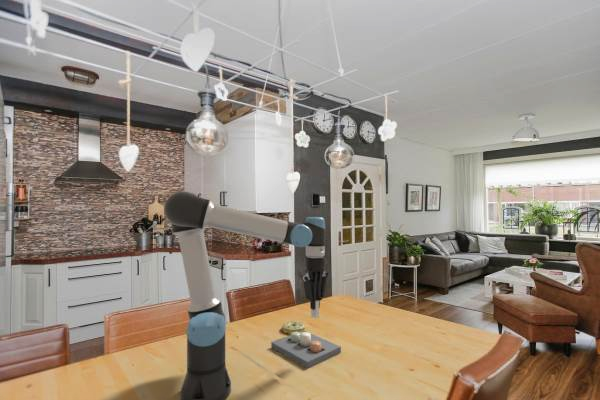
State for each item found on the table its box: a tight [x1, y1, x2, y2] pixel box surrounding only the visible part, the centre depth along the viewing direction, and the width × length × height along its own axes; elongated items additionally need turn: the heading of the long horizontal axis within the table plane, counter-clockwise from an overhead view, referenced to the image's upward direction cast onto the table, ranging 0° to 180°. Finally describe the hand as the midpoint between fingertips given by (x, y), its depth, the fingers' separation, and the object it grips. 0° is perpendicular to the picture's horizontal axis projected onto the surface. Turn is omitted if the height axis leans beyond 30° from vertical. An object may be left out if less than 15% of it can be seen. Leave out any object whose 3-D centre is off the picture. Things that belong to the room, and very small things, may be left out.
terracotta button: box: [310, 341, 322, 354], centre depth 120 cm, size 4×4×4 cm
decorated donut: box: [281, 320, 306, 335], centre depth 146 cm, size 10×11×4 cm
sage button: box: [290, 332, 300, 344], centre depth 129 cm, size 4×4×4 cm
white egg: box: [300, 331, 312, 347], centre depth 125 cm, size 4×4×4 cm
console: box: [271, 329, 342, 369], centre depth 125 cm, size 18×22×3 cm
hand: (315, 316), depth 121 cm, fingers closed
